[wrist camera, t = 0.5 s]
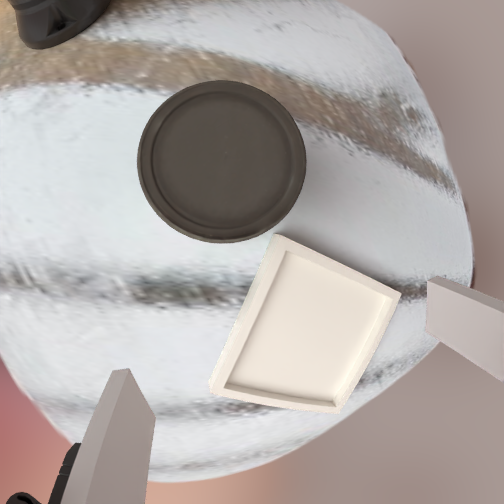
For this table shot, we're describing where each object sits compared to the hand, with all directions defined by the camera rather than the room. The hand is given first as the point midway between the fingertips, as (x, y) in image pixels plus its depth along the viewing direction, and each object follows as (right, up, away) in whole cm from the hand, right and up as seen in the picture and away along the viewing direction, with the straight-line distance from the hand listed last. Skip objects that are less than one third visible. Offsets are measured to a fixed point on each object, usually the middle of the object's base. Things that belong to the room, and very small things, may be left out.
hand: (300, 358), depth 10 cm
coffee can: (-7, +11, +19) cm, 23 cm away
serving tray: (+5, -7, +24) cm, 26 cm away
